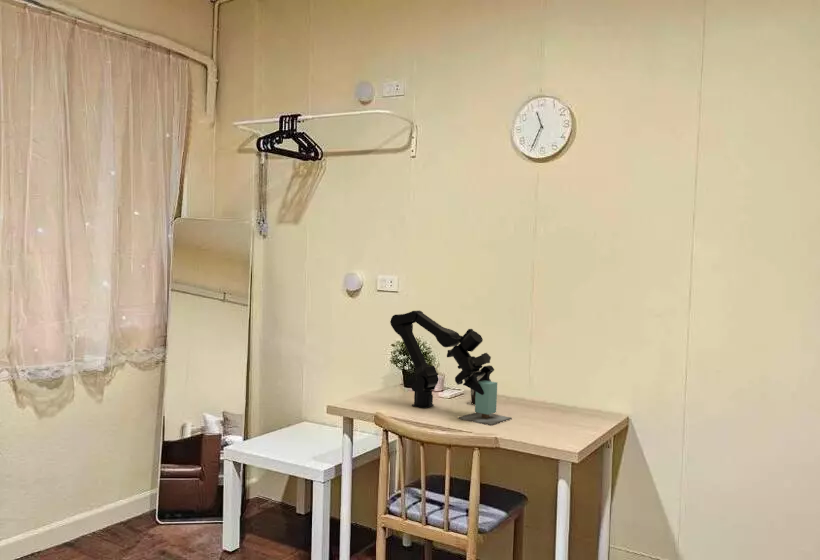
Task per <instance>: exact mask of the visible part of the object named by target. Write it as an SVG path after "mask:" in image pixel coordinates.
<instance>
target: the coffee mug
mask: <svg viewBox="0 0 820 560" xmlns="http://www.w3.org/2000/svg"><path fill="white" fill-rule="evenodd" d="M477 381H479V379H478V378H477ZM490 381H492V379H491V378H490ZM470 397H471V398H470V401H471V404H472V403H473V404H475V397H476V391H474V390H473V389H471V388H470ZM473 404H472V405H473Z"/></svg>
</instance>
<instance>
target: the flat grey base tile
mask: <svg viewBox="0 0 820 560" xmlns="http://www.w3.org/2000/svg"><path fill="white" fill-rule="evenodd" d="M458 419H459V420H462V419H463V420H464V421H468V422H472V421H473V423H477V424H481V423H482V425H486V424H488V425H487V426H491V425H492V426H495V425H497V423H498V424H501V423H500V422H502V423H504V422H503V421H505V422H507V421H506V420H508V421H510V420H509V419H511V420H513V417H511V416H510V417H509V416H505V415H500V414H496V413H492V414H488V415H487V414H482V413H478V412H473V413H469V414H466V415H465V414H464V415H462V416H459V417H458ZM494 424H495V425H494Z"/></svg>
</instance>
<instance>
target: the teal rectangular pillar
mask: <svg viewBox="0 0 820 560" xmlns="http://www.w3.org/2000/svg"><path fill="white" fill-rule="evenodd" d="M479 384H480V386H481V388H482V389H483V391H484V394H483V395H481V394H479V393H478V392H476V397H475V405H474V413H476V412H478V413H482V414H487V415H488V414H496V413H497V403H498V401H497V399H498V382H497V381H493V380H491V381H486V380H484V381H479Z"/></svg>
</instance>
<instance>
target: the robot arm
mask: <svg viewBox="0 0 820 560" xmlns="http://www.w3.org/2000/svg"><path fill="white" fill-rule="evenodd" d="M415 323H416V324H418V325H419V326H420V327H422V328H423V329H424V330H426V331H427V332H428V333H430V334H432V335H433V336H434V337H435V338H436V340H437V342H438V343H439V344H440V345H441V346H442V347H443V348H451V347H452V348H451V349H447V354H446V358H451V357H453V359H454V360H455V362H456V364H458V365H457V368H458V370H460V369H461V371H460V372H459V373H458V374H457V375H455V377H454V382H455V383H456V385H457V386H458V385H463V386H466V387H467V388H469V389H470V390H471V389H473V390H474V391H476V392H478V393H479V394H481V395H483V394H484V391H483V389H482V388H481V386H480V384H479V381H484V380H486V381H490V379H491V378H490V376H491V375H492V373H493V372H494V371H495V368H494V367H493V365H486V364H490V363H491V358H492V356H490V354H488V352H484V353H481V355H479V356H472V355H471V354H470V353H469V352H474V350H476V349H477V348H478V347H479V346H480V345H481V344H482V343H483V341H484V340H483V336H482V335H481V334H479V332H477V331H475V330H474V329H473V328H468V329H467V330H466V332H465V333H464V334H463V335H461V334H460V333H459V332H457V331H454V330H453V329H451V328H448V327H447V328H446V327H444V326H443V325H440V324H439V323H438V322H437V321H435V320H433V319H432V318H431V317H429V316H427V315H426V314H425V313H424V312H423V311H422V310H412V311H409V312H405V313H399V314H394V315H392V316H391V318H390V320H389V324H390V326H391V328H392V329H393V331H394V332H395V333H396V334H397V335H398V336H400V337H401V339H402V342H403V344H404V346H405V348H406V350H407V352H408V354H409V358H410V359H411V361H412V364H413V366H414V368H415V373H414V374H415V376H414V377H415V381H414V382H413V383H412V384H411V386H410V388H411V391H413V392H414V397H413V398H414V400H413V403H412V404H411V407H417V408H423V409H426V408H427V409H428V408H429V407H433V406H434V405H435V404H433V401H434V400H433V398H434V395H433V391H434V390H436V387H437V385H438V382H439V373H438V372H437V370H436V367H435V365H429V364H428V363H427V361H426V358H425V356H424V354H423V352H422V350H421V347H420V345H419V343H418V341H417V339H416V337H415V335H414V333H413V330H414V329H413V327H414V325H413V324H415ZM477 378H478V379H479V381H477Z"/></svg>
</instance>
